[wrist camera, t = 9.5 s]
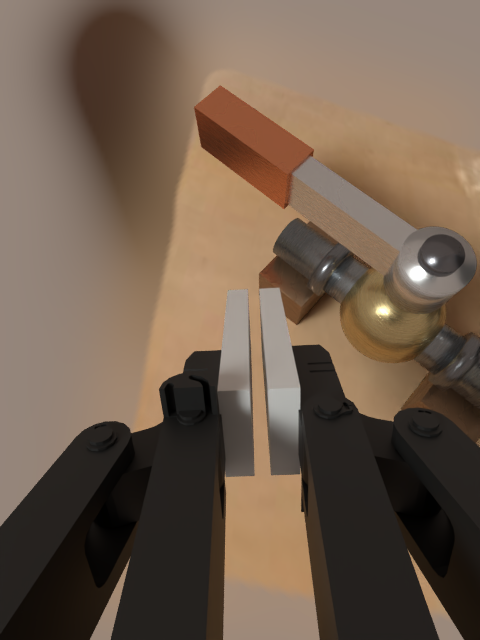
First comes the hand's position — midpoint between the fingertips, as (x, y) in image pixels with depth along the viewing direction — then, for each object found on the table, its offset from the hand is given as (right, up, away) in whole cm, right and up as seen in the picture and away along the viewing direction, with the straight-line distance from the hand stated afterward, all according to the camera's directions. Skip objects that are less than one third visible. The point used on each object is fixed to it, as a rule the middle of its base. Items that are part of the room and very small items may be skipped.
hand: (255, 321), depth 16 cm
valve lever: (+4, +7, +9) cm, 12 cm away
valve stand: (+10, -1, +17) cm, 19 cm away
